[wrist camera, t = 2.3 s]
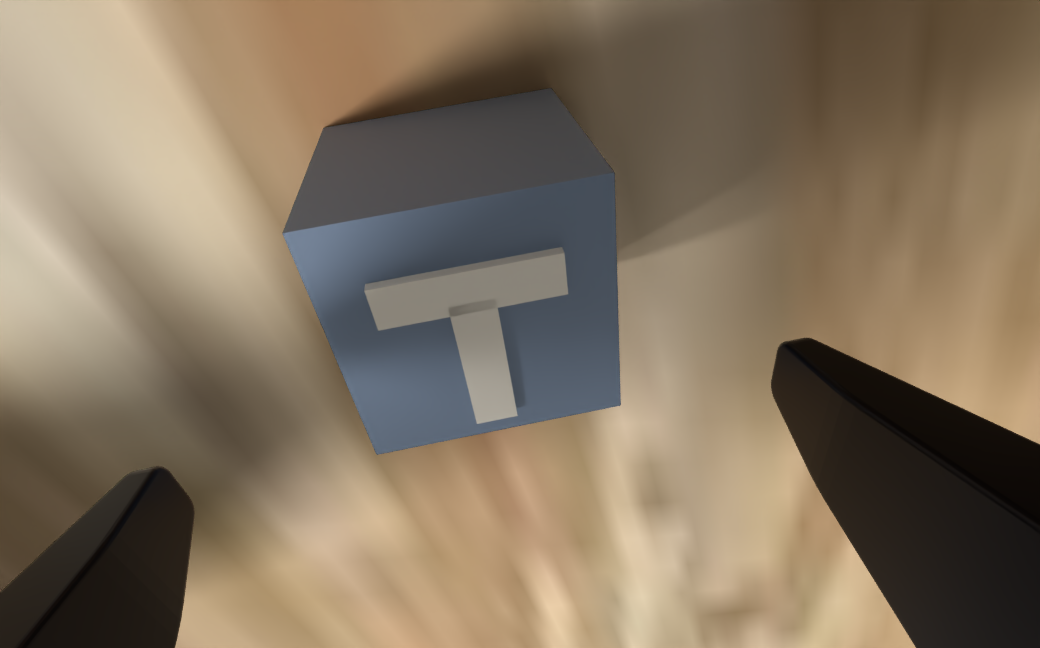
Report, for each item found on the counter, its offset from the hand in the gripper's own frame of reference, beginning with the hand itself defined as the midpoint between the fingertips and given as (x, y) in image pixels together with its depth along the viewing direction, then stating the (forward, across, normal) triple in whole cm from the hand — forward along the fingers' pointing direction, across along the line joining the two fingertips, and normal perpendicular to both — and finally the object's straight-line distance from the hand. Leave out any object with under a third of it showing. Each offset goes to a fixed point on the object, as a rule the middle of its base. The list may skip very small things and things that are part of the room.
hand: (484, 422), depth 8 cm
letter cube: (+7, 0, 0) cm, 7 cm away
